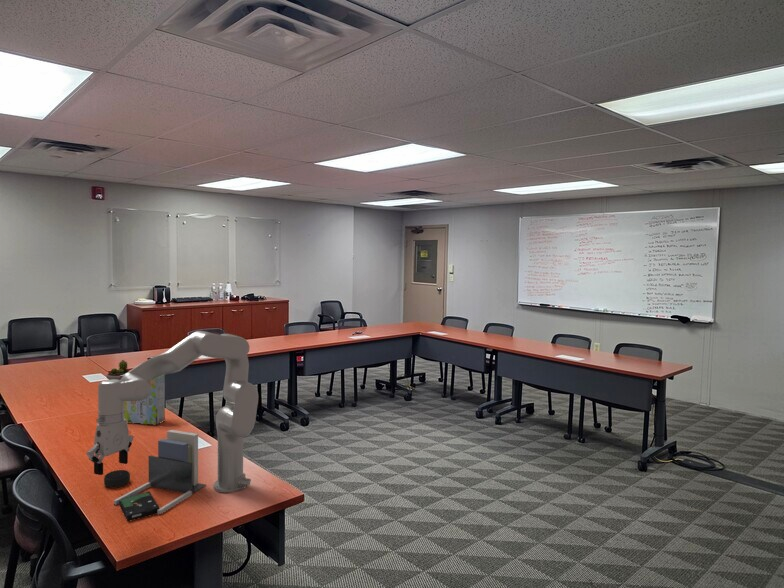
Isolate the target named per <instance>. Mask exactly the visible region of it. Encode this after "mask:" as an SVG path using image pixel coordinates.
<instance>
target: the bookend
mask: <svg viewBox="0 0 784 588" xmlns="http://www.w3.org/2000/svg"><path fill="white" fill-rule="evenodd" d="M148 482H149V483H151V488H156V489H160V490H161V489H162V490H167V491H172V492H176V493H180V494H184V493H186V492H188V491H192V495H193V494H195V493H197V492H198V491H200V490H201V489H203V488H205V487H206V486H207V484H205V483H199V482H198V484H197V485H195V486H192V463H189V462H184V461H178V460H173V459H167V458H161V457H158V456H155V455H148Z"/></svg>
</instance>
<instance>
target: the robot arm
mask: <svg viewBox="0 0 784 588" xmlns="http://www.w3.org/2000/svg"><path fill="white" fill-rule="evenodd" d="M249 352H250V344H249V341H248V340H247V339H245V338H244V337H242V336H239V335H235V334H231V333H221V334H217V333H212V332H210V331H206V330H205V331H204V330H197V331H194V332H192V333H191V334H189V335H188V336H186V337H185V338H184V339H182V340H180V341H179V342H177V344H175V345H173V346H172V347H170V348H169V349H167V350H166V351H164V352H163V353H161V354H158V355H156V356H154V357H151V358H149V359H147V360H145V361H143V362H141V363H140V364H138V365H136V366H134V367H133V368H132V369H130V370H128V371H129V372H127V373H126V374H125V375H124V376H123V377H122V378H121V379H120V380H118V379H111V380H109V379H105V380H103V381H101V382H99V383H98V387H97V400H98V401H97V405H98V406H97V409H98V410H97V415H98V416H97V418H96V420H95V421H96V423H97V424H96V427H95V432H94V433H95V434H94V444H93V446H92V447H91V448H89V450H88V451H87V452H86V455H87V457H88V460H89V461H91V462H92V463H93V473H94V475H98V476H103V475H104V462H103V460H104V458H105V457H109V456H111V455H113V454H116V453H118V463H119V464H123V465H127V464H128V463H129V461H128V460H129V459H128V455H129V453H128V452H130V448H131V446H132V444H133V441H134V435H131V434H129V433H130V432H129V431H130V430H129V426H128V423H127V421H126V419H124V401H140V400H144V399H146V398H147V397H148V396H149V395H150V394H151V392H152V386H151V384H150V383H149V382H150V381H151V380H153V379H155V378H157V377H159V376H162V375H165V376H166V375H171V374H175V373H178V372H181V371H182V370H184V369H185V368H186V367H188V366H189V365H190V364H192V363H193V362H194V361H196V360H197V359H198V358H200V357H201V356H204V357H207V358H214V359H224V361H225V376H224V382H223V391H222V396H223V398H224V400H225V401H226V402H228V403H230V405H229V404H228V405H224V406H223V407H221V408H220V409H219V410H218V412H217V413H216V415H215V428H216V435H217V480H215V481H214V483H213V485H212V486H213V487H212V488H213V490H214V491H216V492H218V493H225V494H227V493H228V494H229V493H230V494H231V493H235V492H240V491H241V490H244V488H246V487H250V485H251V481H252V479H251V478H247V477H246V473H244V437H247V436H249V435H250V433H252V431H253V429H254V427H255V424H256V420H257V419H256V418H257V410H258V404H259V392H258V389H257V387H256V386H255V385H254V384H252V383H251V382H249V381H248V380H249V371H250V370H249V368H250V364H249V363H250V362H249V357H248V354H249ZM231 404H232V405H231Z"/></svg>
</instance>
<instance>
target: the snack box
mask: <svg viewBox="0 0 784 588" xmlns="http://www.w3.org/2000/svg"><path fill="white" fill-rule="evenodd" d="M124 375H125V374H124ZM124 375H120V379H121V378H122V377H123V376H124ZM165 377H166V374H165V375H162V376H159V377H157V378H155V379H153V380H151V381H150V382H149V383H150V384H151V386H152V392H151V394H150V395H149V396H148V397H147V398H146V399H144V400H140V401H124V419H126V421H127V422H131V423H130V424H134V423H141V424H140V425H147V424H153V425H152V426H157V425H159V424H158V423H160V422H162V421H164V420H165V421H166V415H165V414H166V412H165V409H166V408H165V407H166V404H165V402H166V401H165V400H166V397H165V395H166V392H165V388H166V387H165V386H166V381H165V380H166V379H165ZM165 421H164V422H165ZM162 423H163V422H162ZM156 424H157V425H156ZM160 424H161V423H160Z"/></svg>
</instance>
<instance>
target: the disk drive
mask: <svg viewBox="0 0 784 588" xmlns="http://www.w3.org/2000/svg"><path fill="white" fill-rule="evenodd" d="M118 505H119V507H121V508H120V509H121V511H122V513H124V514H123V515H124V518H125V517H126V518H125V520H126V519H127V520H126V522H131V521H130V520H132V521H135V520H134V519H136V520H139V519H143V518H146V517H145V516H147V517H150V516H149V515H151V516H154V515H157V514H156V513H157V510H158V509H160V506H159V503H158V502H157V501H156V500H155V498H154V497H153V495H152V493H151V492H150V491H145V492H142V493H141V492H140V493H138V494H136V495H134V496H131V497H127V498H123V499H122V498H121V500H119V504H118ZM153 514H154V515H153ZM142 517H143V518H142ZM138 518H139V519H138Z"/></svg>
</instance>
